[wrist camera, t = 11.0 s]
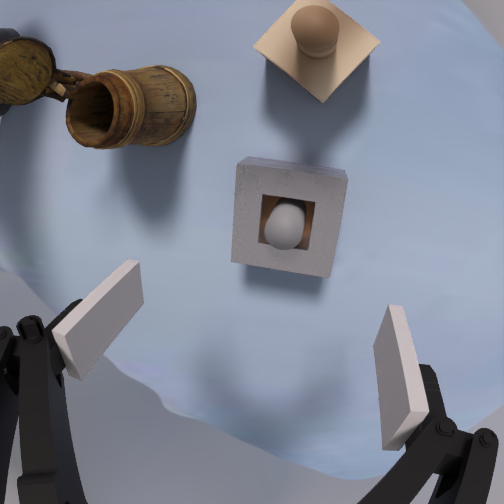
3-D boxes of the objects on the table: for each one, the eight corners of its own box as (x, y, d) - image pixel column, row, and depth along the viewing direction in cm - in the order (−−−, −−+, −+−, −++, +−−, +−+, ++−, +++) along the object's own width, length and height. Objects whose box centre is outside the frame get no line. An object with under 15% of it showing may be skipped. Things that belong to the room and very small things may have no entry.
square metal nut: (241, 244, 33) (231, 261, 30) (247, 156, 29) (236, 163, 26) (329, 258, 32) (329, 278, 28) (344, 170, 28) (347, 179, 24)
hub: (243, 205, 33) (221, 233, 26) (289, 153, 30) (278, 167, 23) (295, 249, 34) (286, 288, 27) (343, 203, 31) (348, 232, 24)
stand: (265, 58, 27) (236, 33, 17) (312, 9, 23) (305, -37, 14) (322, 103, 27) (323, 99, 18) (369, 54, 24) (393, 27, 15)
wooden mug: (130, 30, 27) (3, 6, 11) (213, 100, 29) (99, 101, 13) (88, 90, 31) (-38, 106, 15) (161, 161, 33) (39, 216, 17)
